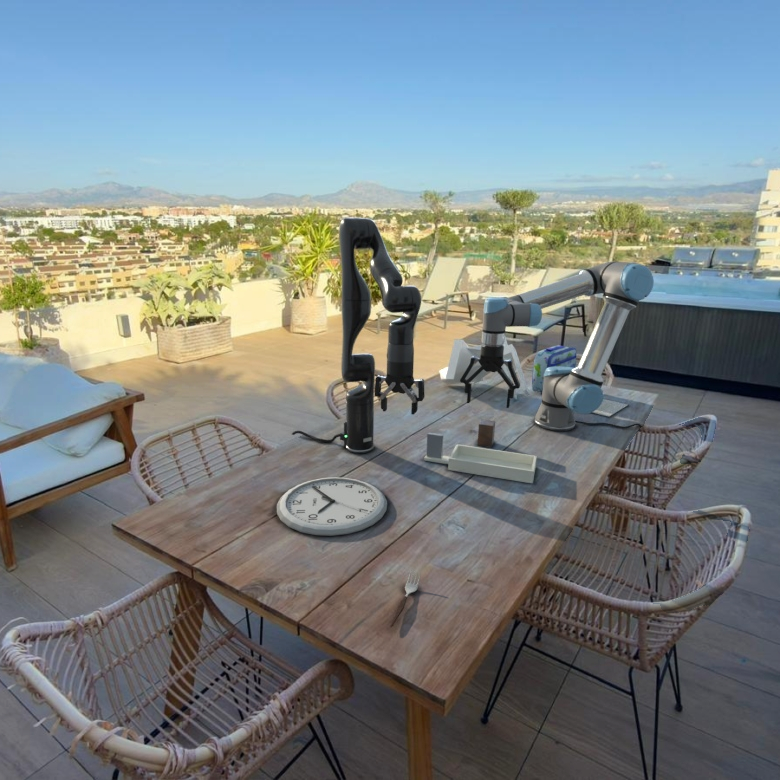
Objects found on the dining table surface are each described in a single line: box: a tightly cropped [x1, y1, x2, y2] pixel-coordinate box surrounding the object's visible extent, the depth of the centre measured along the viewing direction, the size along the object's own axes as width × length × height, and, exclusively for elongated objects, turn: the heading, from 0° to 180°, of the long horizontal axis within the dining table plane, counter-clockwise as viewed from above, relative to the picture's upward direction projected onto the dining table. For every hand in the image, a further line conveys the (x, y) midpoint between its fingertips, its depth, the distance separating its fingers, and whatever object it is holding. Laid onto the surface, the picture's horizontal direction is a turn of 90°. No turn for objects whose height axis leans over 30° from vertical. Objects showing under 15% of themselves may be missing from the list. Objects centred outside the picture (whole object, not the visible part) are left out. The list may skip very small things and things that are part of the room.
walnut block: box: [477, 419, 496, 448], centre depth 184 cm, size 5×5×8 cm
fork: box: [390, 569, 422, 628], centre depth 106 cm, size 3×16×2 cm, turn 160°
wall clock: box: [276, 476, 388, 537], centre depth 142 cm, size 30×2×30 cm
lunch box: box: [531, 345, 577, 393], centre depth 245 cm, size 26×11×21 cm, turn 134°
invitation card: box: [591, 398, 629, 418], centre depth 226 cm, size 21×1×15 cm
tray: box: [423, 432, 538, 484], centre depth 166 cm, size 35×12×9 cm, turn 71°
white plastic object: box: [438, 336, 531, 400], centre depth 245 cm, size 37×45×31 cm
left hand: (398, 412), depth 152 cm, fingers open, 8 cm apart
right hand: (488, 404), depth 181 cm, fingers open, 13 cm apart
